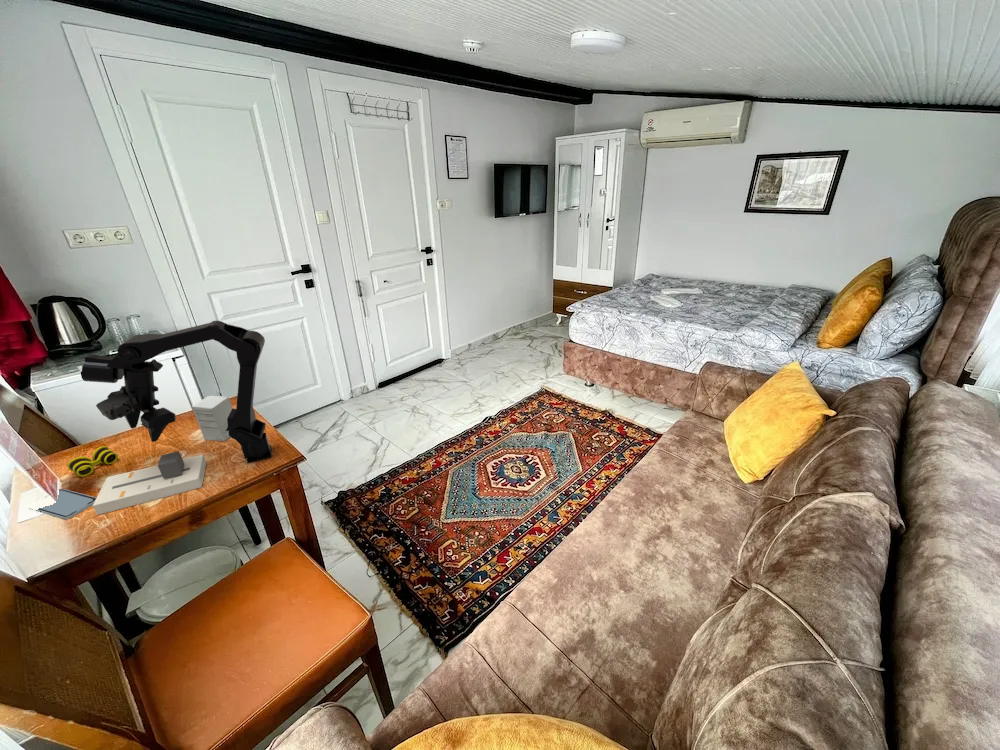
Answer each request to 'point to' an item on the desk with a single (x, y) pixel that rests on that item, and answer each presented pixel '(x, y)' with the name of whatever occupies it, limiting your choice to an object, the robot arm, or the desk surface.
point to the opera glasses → (98, 457)
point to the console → (148, 485)
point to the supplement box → (213, 417)
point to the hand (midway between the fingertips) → (143, 434)
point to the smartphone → (68, 504)
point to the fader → (171, 464)
